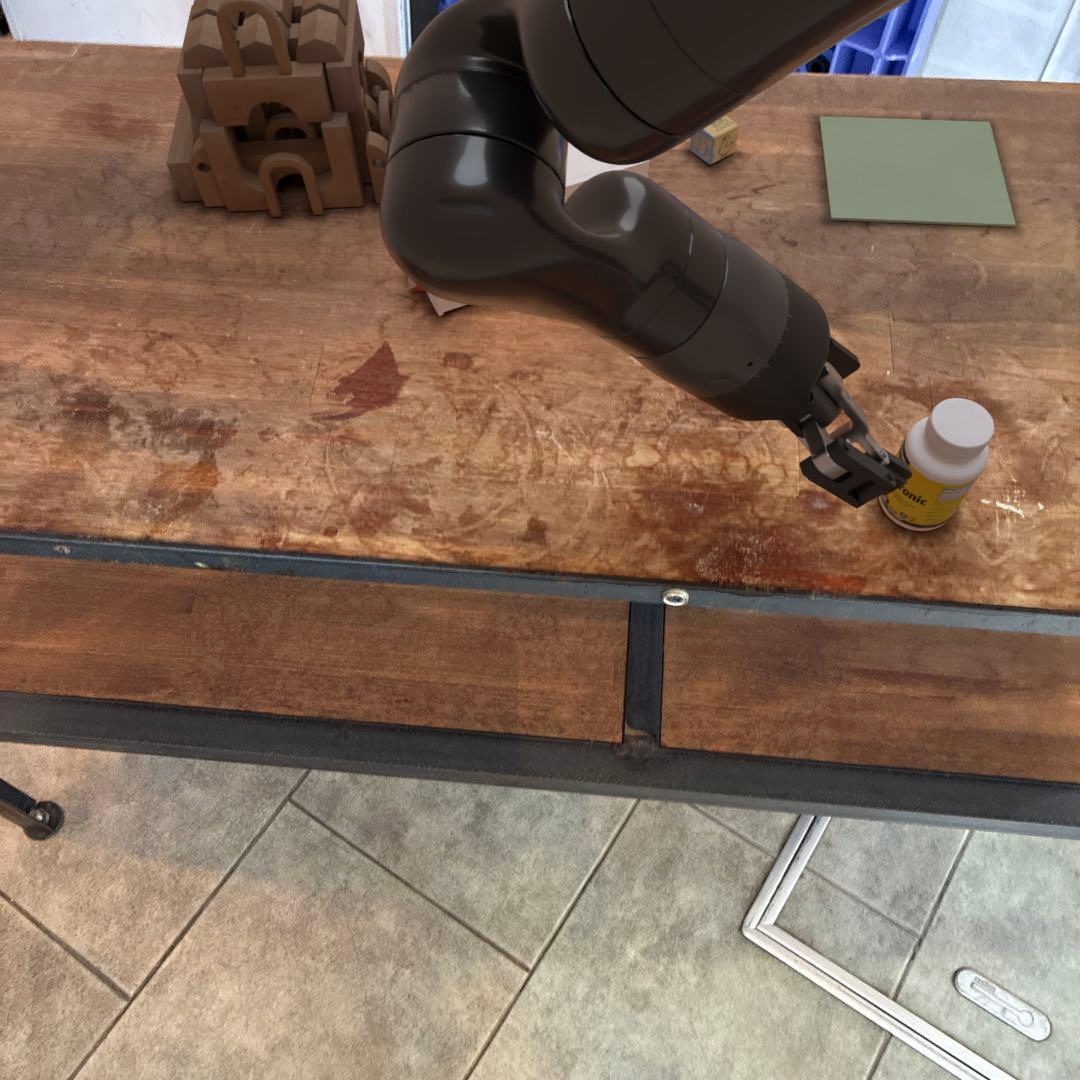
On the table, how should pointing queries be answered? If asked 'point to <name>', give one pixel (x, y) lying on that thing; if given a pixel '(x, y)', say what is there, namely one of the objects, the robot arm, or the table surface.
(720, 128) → the alphabet block
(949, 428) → the supplement bottle
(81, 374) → the table surface
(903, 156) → the mat
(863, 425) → the robot arm
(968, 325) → the table surface
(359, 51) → the wooden puzzle
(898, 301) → the table surface
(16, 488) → the table surface
